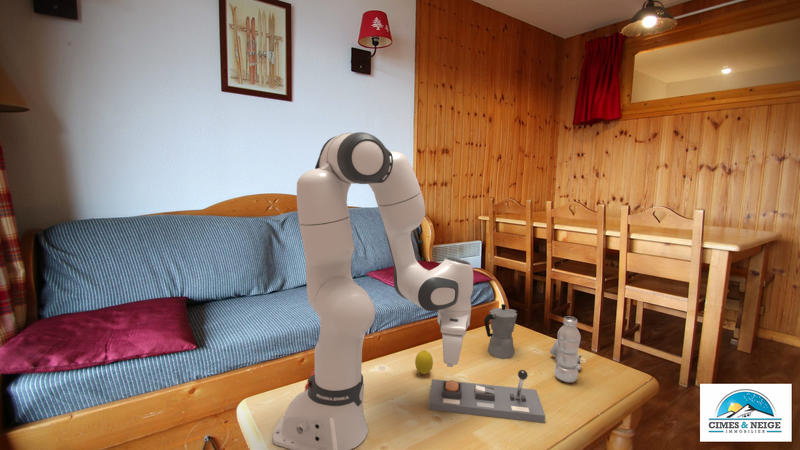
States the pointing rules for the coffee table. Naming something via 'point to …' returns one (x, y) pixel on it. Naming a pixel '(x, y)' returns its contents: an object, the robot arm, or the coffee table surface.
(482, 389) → the rocker switch
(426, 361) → the lemon
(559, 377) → the plastic bottle
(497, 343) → the coffeepot
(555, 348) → the round bodied animal figurine
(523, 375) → the toggle lever
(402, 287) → the robot arm
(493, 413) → the control panel
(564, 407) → the coffee table surface
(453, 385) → the push button
